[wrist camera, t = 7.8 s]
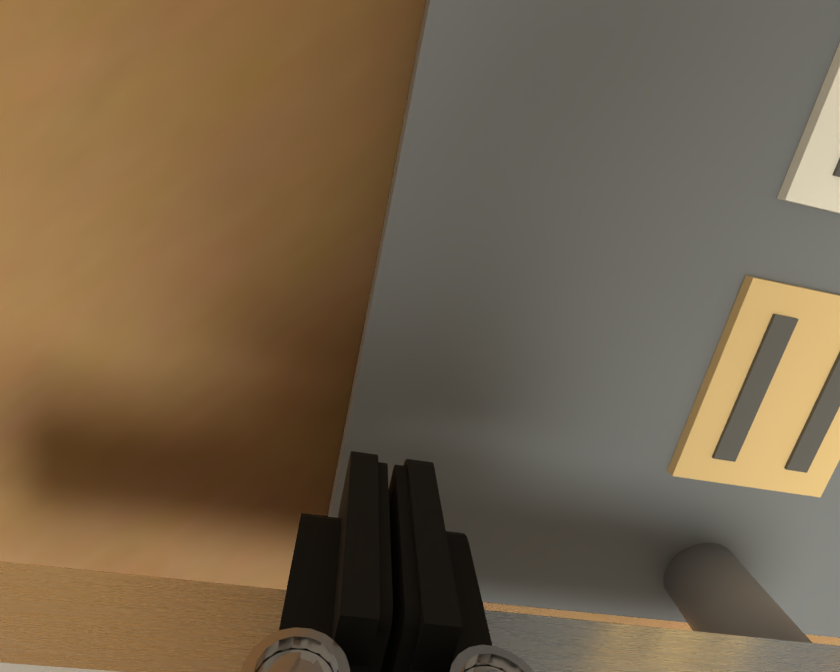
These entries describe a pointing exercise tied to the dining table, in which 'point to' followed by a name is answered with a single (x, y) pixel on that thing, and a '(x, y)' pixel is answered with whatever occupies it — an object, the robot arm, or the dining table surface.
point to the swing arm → (261, 615)
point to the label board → (620, 306)
